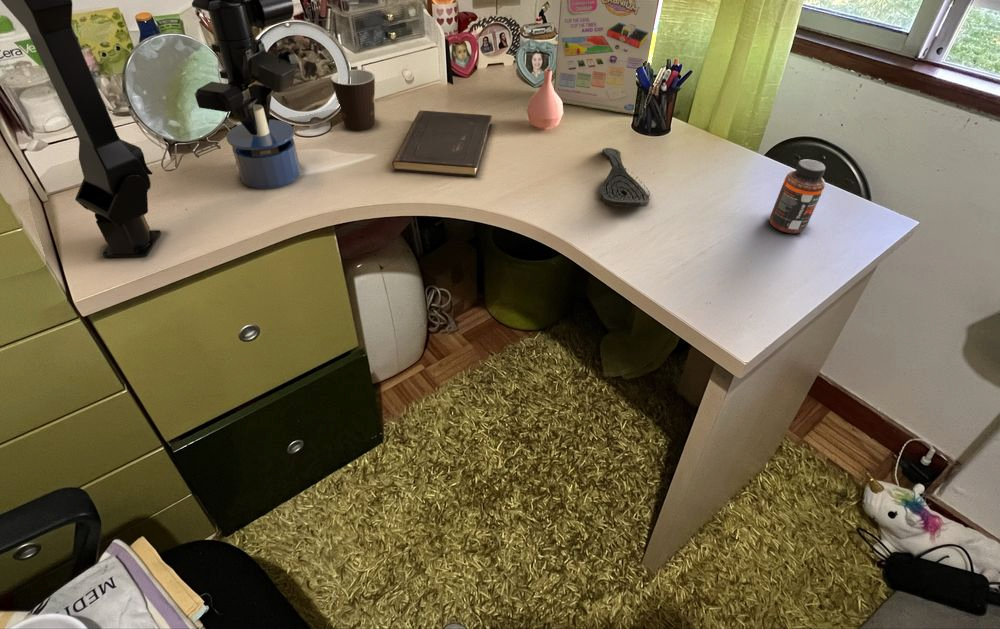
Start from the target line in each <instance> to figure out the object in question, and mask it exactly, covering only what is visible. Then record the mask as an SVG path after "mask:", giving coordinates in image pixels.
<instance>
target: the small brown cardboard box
mask: <svg viewBox="0 0 1000 629" xmlns="http://www.w3.org/2000/svg"><path fill="white" fill-rule="evenodd" d="M251 152H252V156H253V157H262V156H269V155H273V154H277V153H279V150H278V147H273V148H269V149H263V150H251Z"/></svg>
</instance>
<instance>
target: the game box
mask: <svg viewBox="0 0 1000 629" xmlns="http://www.w3.org/2000/svg"><path fill="white" fill-rule="evenodd" d="M559 2H560V4H559V5H560V6H559V18H558V29H557V30H558V32H557V44H556V59H555V70H554V82H553V83H554V84H553V88H554V91H555V93H556V94H557V95H558V96H559V98H560V99H561V100H562V104H568V105H573V106H578V107H585V108H589V109H590V108H591V109H596V110H603V111H609V112H616V113H623V114H629V115H634V112H633V110H634V105H635V100H636V94H637V85H636V70H637V68H638V67H640V66H642V64H643V63H644V62H645V61H648V62H649V63H650V65H652V60H653V54H654V49H655V44H656V39H657V33H658V29H659V28H658V27H659V24H660V17H661V11H662V6H663V0H560V1H559Z"/></svg>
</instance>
